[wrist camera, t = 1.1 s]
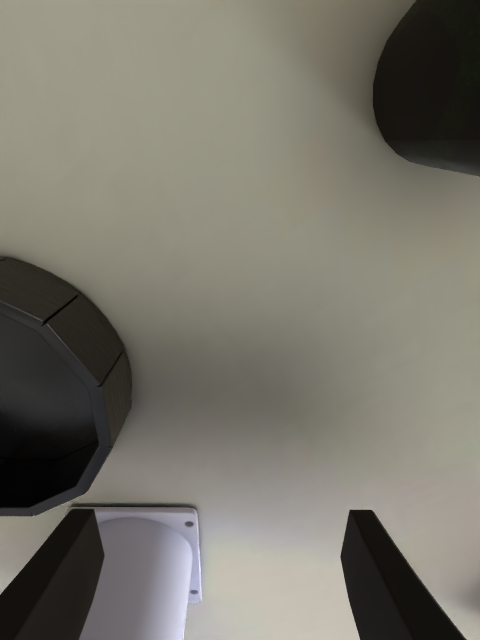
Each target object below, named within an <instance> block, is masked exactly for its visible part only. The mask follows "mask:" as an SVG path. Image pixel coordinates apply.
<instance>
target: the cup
mask: <svg viewBox="0 0 480 640" xmlns="http://www.w3.org/2000/svg"><path fill="white" fill-rule="evenodd" d="M373 107H374V112H375V117H376V121H377V125H378V127H379V129H380V131H381V133H382V135H383V137H384V139H385V141H386V142H387V143H388V145H389V146H390V147H391V148H392V149H393V150H394V151H395V152H396V153H397V154H398V155H400V156H402V157H403V158H405V159H407V160H408V161H410V162H414V163H417V164H421V165H425V166H430V167H435V168H440V169H445V170H450V171H455V172H460V173H465V174H471V175H476V176H480V0H417V1H416V2H415V3H414V4H413V6H412V7H411V8H410V9H409V11H408V12H407V13H406V14H405V16H404V17H403V18H402V19H401V21H400V22H399V24H398V25H397V27H396V28H395V30H394V31H393V33H392V34H391V36H390V37H389V39H388V40H387V42H386V45H385V47H384V50H383V52H382V54H381V57H380V59H379V61H378V65H377V70H376V74H375V79H374V84H373Z"/></svg>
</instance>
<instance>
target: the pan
mask: <svg viewBox="0 0 480 640" xmlns="http://www.w3.org/2000/svg"><path fill="white" fill-rule="evenodd" d="M131 390H132V380H131V370H130V366H129V361H128V358H127V355H126V352H125V349H124V347H123V344H122V342H121V341H120V339H119V337H118V335H117V333H116V331H115V330H114V328H113V327H112V325H111V324H110V323H109V321H108V320H107V318H106V317H105V316H104V315H103V314H102V313H101V311H100V310H99V309H98V308H97V307H96V306H95V305H94V304H93V303H92V302H91V301H90V300H89V299H87V298H86V297H85V296H84V295H83V294H82V293H81V292H79V291H78V290H76V289H75V288H74V287H72V286H71V285H70V284H68V283H67V282H65V281H63V280H62V279H60V278H58V277H56V276H55V275H53V274H51V273H49V272H47V271H45V270H42V269H40V268H38V267H36V266H33V265H31V264H27V263H24V262H21V261H18V260H15V259H10V258H5V257H0V516H33V515H35V516H36V515H38V514H41V513H43V512H45V511H47V510H49V509H52V508H54V507H56V506H58V505H61V504H63V503H65V502H67V501H70V500H72V499H74V498H76V497H78V496H81V495H83V494H85V493H86V492H87V491H88V490H89V488H90V486H91V484H92V483H93V481H94V479H95V477H96V476H97V474H98V472H99V471H100V469H101V467H102V465H103V464H104V462H105V460H106V459H107V457H108V455H109V453H110V452H111V450H112V448H113V446H114V444H115V441H116V439H117V437H118V435H119V432H120V430H121V428H122V426H123V424H124V421H125V419H126V417H127V415H128V412H129V410H130V408H131V404H132V403H131Z"/></svg>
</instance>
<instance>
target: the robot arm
mask: <svg viewBox="0 0 480 640" xmlns="http://www.w3.org/2000/svg"><path fill="white" fill-rule="evenodd" d="M340 557H341V562H342V567H343V573H344V578H345V583H346V588H347V593H348V598H349V602H350V606H351V609H352V613H353V616H354V620H355V623H356V626H357V630H358V633H359V637H360V640H466V638H465V637H464V636H463V635H462V633H461V632H460V631H459V630H458V628H457V627H456V626H455V625H454V623H453V622H452V621H451V620H450V618H449V617H448V616H447V614H446V613H445V612H444V611H443V609H442V608H441V607H440V605H439V604H438V603H437V601H436V600H435V599H434V597H433V596H432V595H431V593H430V592H429V591H428V589H427V588H426V587H425V585H424V584H423V583H422V581H421V580H420V579H419V577H418V576H417V574H416V573H415V572H414V570H413V569H412V567H411V566H410V565H409V563H408V562H407V560H406V559H405V558H404V556H403V555H402V553H401V552H400V550H399V549H398V548H397V546H396V545H395V543H394V542H393V540H392V539H391V537H390V536H389V534H388V533H387V531H386V530H385V528H384V527H383V525H382V524H381V522H380V521H379V519H378V518H377V516H376V515H375V513H374V512H373V511H372V510H350V511H349V516H348V521H347V526H346V531H345V536H344V541H343V546H342V551H341V556H340ZM201 600H202V586H201V567H200V549H199V531H198V513H197V511H196V510H195V509H193V508H189V507H71V508H69V509H68V511H67V513H66V515H65V517H64V519H63V520H62V521H61V522H60V524H59V525H58V526H57V527H56V529H55V530H54V531H53V532H52V534H51V535H50V536H49V537H48V539H47V540H46V541H45V542H44V543H43V545H42V546H41V547H40V548H39V550H38V551H37V552H36V553H35V554H34V556H33V557H32V558H31V559H30V561H29V562H28V563H27V564H26V565H25V567H24V568H23V569H22V570H21V571H20V572H19V574H18V575H17V576H16V577H15V578H14V579H13V581H12V582H11V583H10V584H9V585H8V586H7V588H6V589H5V590H4V591H3V592H2V593H1V595H0V640H183V637H184V629H185V620H186V612H187V604H199V603H200V602H201Z"/></svg>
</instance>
